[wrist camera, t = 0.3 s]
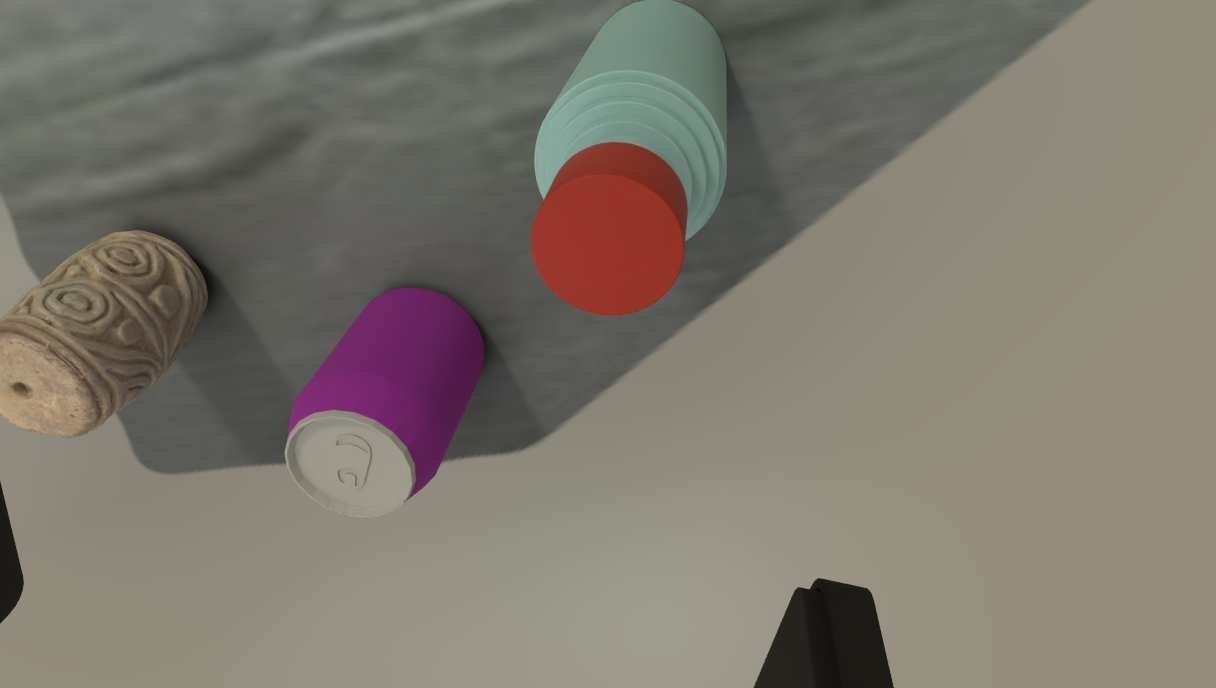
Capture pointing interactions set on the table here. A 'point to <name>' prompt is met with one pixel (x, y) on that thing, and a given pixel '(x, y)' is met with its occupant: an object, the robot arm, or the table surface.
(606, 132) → the water bottle
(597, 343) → the table surface
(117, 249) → the carving
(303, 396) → the beverage can
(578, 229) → the cap
